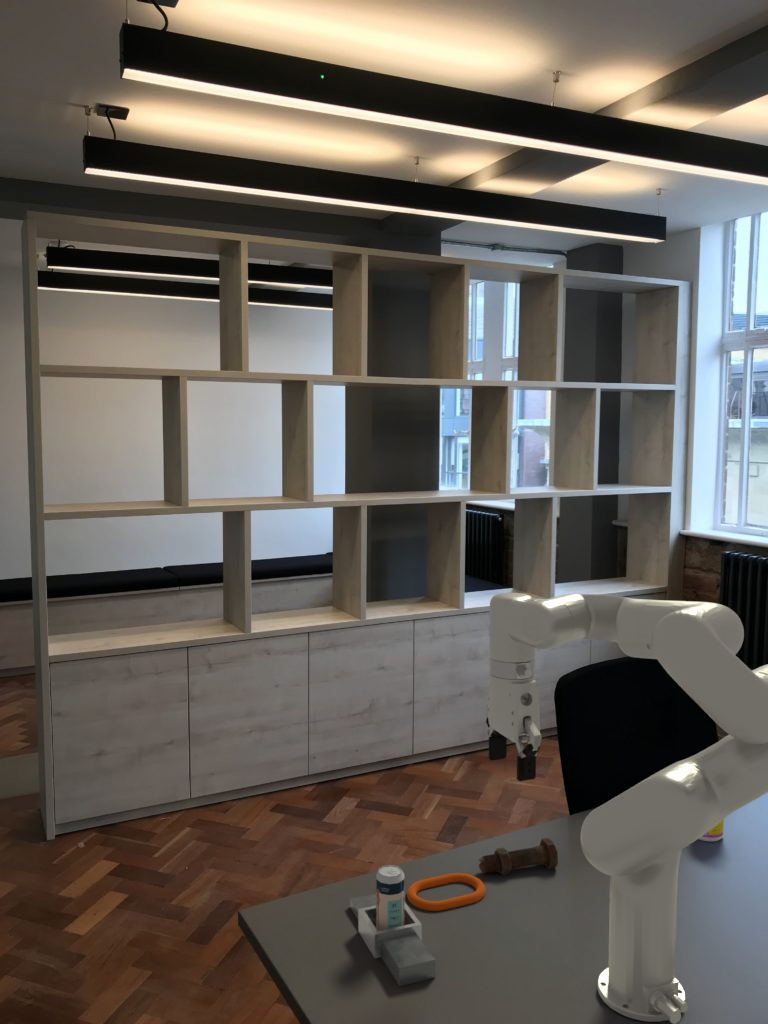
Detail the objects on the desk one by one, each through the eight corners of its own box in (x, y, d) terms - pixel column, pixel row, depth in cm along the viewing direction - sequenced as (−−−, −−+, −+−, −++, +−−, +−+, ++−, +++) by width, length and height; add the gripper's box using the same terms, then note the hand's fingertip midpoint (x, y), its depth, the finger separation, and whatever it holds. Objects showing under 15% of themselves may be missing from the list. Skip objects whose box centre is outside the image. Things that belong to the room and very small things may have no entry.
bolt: (480, 882, 166) (551, 869, 170) (488, 880, 161) (561, 867, 165) (473, 850, 168) (544, 838, 172) (481, 848, 164) (553, 836, 168)
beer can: (388, 928, 147) (388, 860, 146) (410, 938, 144) (410, 869, 143) (370, 941, 143) (369, 871, 142) (392, 951, 140) (392, 880, 139)
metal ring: (495, 891, 156) (420, 908, 150) (495, 900, 156) (420, 918, 151) (469, 867, 165) (398, 883, 159) (469, 876, 165) (398, 891, 160)
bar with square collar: (441, 976, 133) (441, 951, 133) (392, 987, 131) (392, 962, 130) (387, 899, 156) (386, 878, 156) (344, 908, 153) (343, 886, 153)
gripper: (560, 679, 135) (558, 784, 137) (506, 654, 152) (506, 749, 153) (518, 684, 133) (517, 791, 134) (468, 658, 149) (468, 754, 150)
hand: (511, 768), depth 143 cm, fingers open, 9 cm apart
